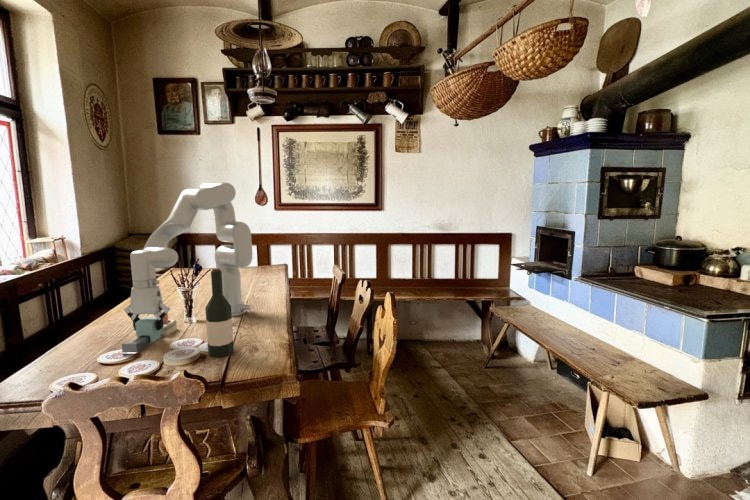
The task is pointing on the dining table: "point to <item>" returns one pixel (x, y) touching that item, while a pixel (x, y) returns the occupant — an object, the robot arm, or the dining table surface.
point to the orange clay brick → (165, 318)
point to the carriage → (147, 328)
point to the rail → (136, 344)
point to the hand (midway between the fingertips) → (148, 329)
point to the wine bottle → (219, 319)
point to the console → (168, 327)
